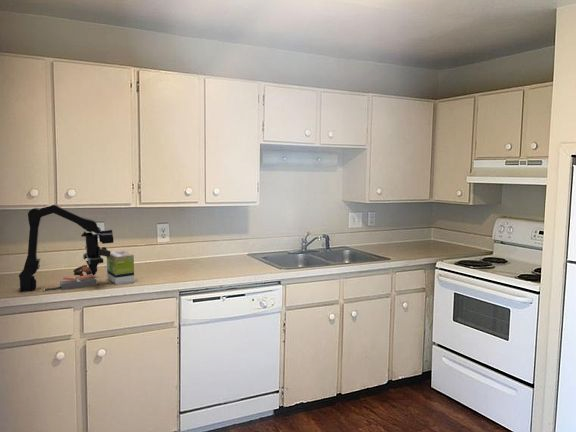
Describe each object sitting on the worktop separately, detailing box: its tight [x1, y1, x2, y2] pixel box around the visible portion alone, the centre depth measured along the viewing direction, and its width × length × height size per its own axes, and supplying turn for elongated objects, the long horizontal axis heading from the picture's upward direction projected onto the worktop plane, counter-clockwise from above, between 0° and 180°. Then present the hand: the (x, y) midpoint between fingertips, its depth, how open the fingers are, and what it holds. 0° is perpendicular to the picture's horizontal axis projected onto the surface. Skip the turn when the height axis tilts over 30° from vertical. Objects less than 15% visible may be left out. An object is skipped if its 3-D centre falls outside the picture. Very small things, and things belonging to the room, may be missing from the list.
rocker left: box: [62, 275, 78, 281], centre depth 233 cm, size 6×3×1 cm, turn 124°
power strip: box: [44, 277, 98, 292], centre depth 233 cm, size 23×6×3 cm, turn 123°
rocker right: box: [79, 274, 95, 279], centre depth 237 cm, size 6×3×1 cm, turn 123°
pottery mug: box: [73, 264, 98, 278], centre depth 254 cm, size 12×10×8 cm
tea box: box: [106, 250, 135, 285], centre depth 248 cm, size 15×10×15 cm, turn 37°
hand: (94, 274), depth 239 cm, fingers closed, pressing on rocker right
